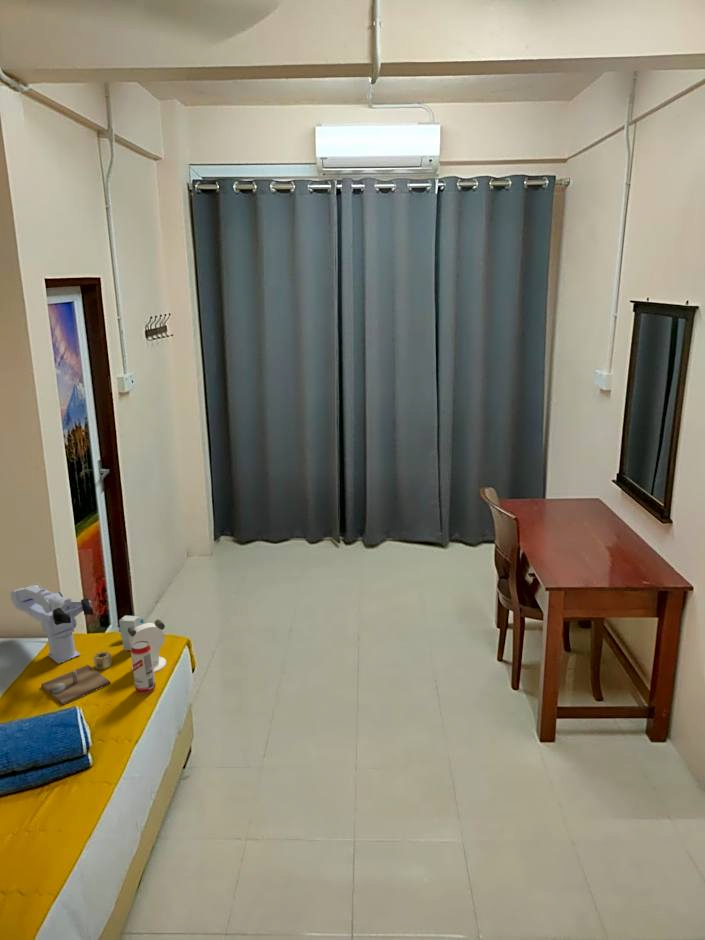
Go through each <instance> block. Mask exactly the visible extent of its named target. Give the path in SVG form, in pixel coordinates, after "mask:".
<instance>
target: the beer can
mask: <svg viewBox="0 0 705 940" xmlns="http://www.w3.org/2000/svg"><path fill="white" fill-rule="evenodd" d="M130 655H131V656H130V657H131V664H132V666H133V670H132V672H133V673H132V674H133V680H134V681H133V682H134V688H135V691H136V693H138V694H141V695H142V694H143V695H145V694H150V693H152V692H153V691H154V690H155V688H156V678H155V677H156V676H155V672H154V668H153V659H152V651H151V647H150V645H149V643H148V642H147V641H138V642H136V643H134V644H133V645H132V649H131V651H130ZM132 666H131V667H132Z"/></svg>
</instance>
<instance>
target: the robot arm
mask: <svg viewBox="0 0 705 940" xmlns="http://www.w3.org/2000/svg"><path fill="white" fill-rule="evenodd" d="M32 585H33V584H32ZM28 586H29V587H26V586H25V587H26V588H23V587H21V588H18V589H12V590H11V592H10V599H11V603H12V604H13V605H14V607H15V608H16V610H20V611H23V612H25V613H26V614H27V615H28V616H29V617H30V618H31V619H34V620H36V621H37V622H40V623H41V627H42V631H43V632H44V633H45V635H46V636H47V642H48V648H49V653H47V656H48V657H49V658H50V659H52V660H53V661H54V662H55V663H57V664H62V663H64V662H66V660H67V661H69V660H72V659H74V658H77V657H79V656H81V653H80V652H78V651H77V650H76V645H75V641H74V634H73V633H74V632H75V628H76V627H77V616H78V615H80V614H81V613H82V612H83V615H84V616H87V615H89V616H93V615H94V610H93V608H92V607H93V603H92V601H91V600H89V598H87V597H86V598H83V599H80V601H78V600H72V599H71V598H70V597H69V598H66V597H64V595H63V594H62V592H61V591H60V590H59V591H55V592H51V591H50V590H47V589H46V588H41V589H40V588H39V586H38V585H33V586H30V585H28ZM76 656H77V657H76ZM71 658H72V659H71ZM61 662H62V663H61Z"/></svg>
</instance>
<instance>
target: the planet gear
mask: <svg viewBox="0 0 705 940" xmlns="http://www.w3.org/2000/svg"><path fill="white" fill-rule="evenodd" d="M111 663H112V664H113V662H112V655H111V653H110V652H109V651H100V652H98V653H95V654H94V655H93V664H94V669H96V668H97V669H96V670H98V669H104V670H106V669H108V668H107V667H109V668H110V667H111V666H112V664H111ZM110 665H111V666H110ZM105 668H106V669H105Z"/></svg>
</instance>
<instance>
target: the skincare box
mask: <svg viewBox="0 0 705 940" xmlns="http://www.w3.org/2000/svg"><path fill="white" fill-rule="evenodd" d="M140 620H141V618H140V616H138V615H132V616H129V615H124V616H123V617H121V618H120V619H119V620H118V625H119V624H120V626H119V628H120V629H121V632H120V634H121V635H122V636H121V635H120V636H121V641H122V646H123V647H122V648H123V650H124V651H127V650H130V652H131V649H132V646H131V645H130V642H129V639H130V634H129V633H128V628H129V627H133V628H135V627H137V626H139V625H142V623H140Z"/></svg>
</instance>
